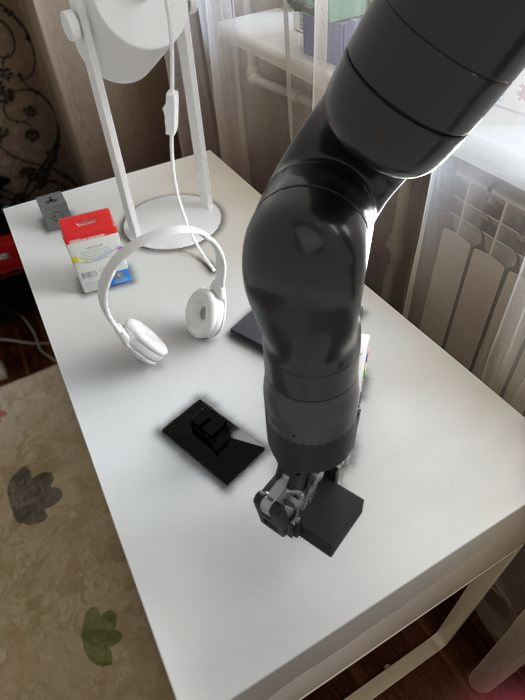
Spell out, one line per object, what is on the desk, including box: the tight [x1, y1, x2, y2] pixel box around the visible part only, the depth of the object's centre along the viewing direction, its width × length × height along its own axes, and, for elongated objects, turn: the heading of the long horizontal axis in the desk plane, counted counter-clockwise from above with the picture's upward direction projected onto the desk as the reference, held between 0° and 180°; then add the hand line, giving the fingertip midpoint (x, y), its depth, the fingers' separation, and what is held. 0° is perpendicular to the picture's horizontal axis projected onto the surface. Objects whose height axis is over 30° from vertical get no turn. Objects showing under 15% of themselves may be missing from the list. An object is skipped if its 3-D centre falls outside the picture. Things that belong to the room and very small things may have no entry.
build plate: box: [161, 399, 266, 487], centre depth 68 cm, size 12×7×5 cm, turn 47°
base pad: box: [230, 305, 364, 352], centre depth 84 cm, size 14×16×1 cm
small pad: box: [261, 474, 365, 558], centre depth 55 cm, size 6×9×3 cm, turn 52°
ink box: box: [58, 207, 133, 294], centre depth 89 cm, size 8×5×15 cm, turn 111°
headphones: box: [97, 225, 227, 365], centre depth 75 cm, size 7×18×20 cm, turn 123°
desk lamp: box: [59, 0, 222, 272], centre depth 88 cm, size 21×32×45 cm, turn 35°
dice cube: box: [35, 190, 72, 232], centre depth 107 cm, size 5×5×5 cm
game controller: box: [342, 333, 371, 466], centre depth 68 cm, size 20×2×8 cm, turn 165°
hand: (310, 505), depth 55 cm, fingers closed on small pad, 6 cm apart
